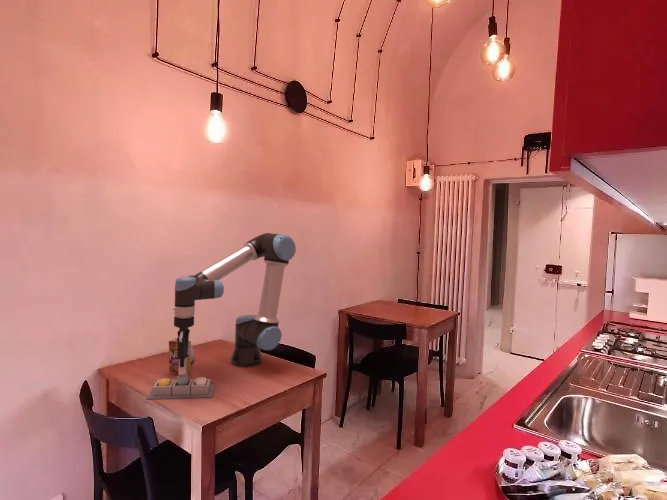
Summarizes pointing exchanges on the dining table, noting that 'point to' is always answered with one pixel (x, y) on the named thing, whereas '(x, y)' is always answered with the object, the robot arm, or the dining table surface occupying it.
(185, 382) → the teal button
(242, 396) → the dining table surface
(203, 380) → the ivory button
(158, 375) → the dining table surface
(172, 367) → the candy box
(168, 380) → the mustard button
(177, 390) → the button panel
